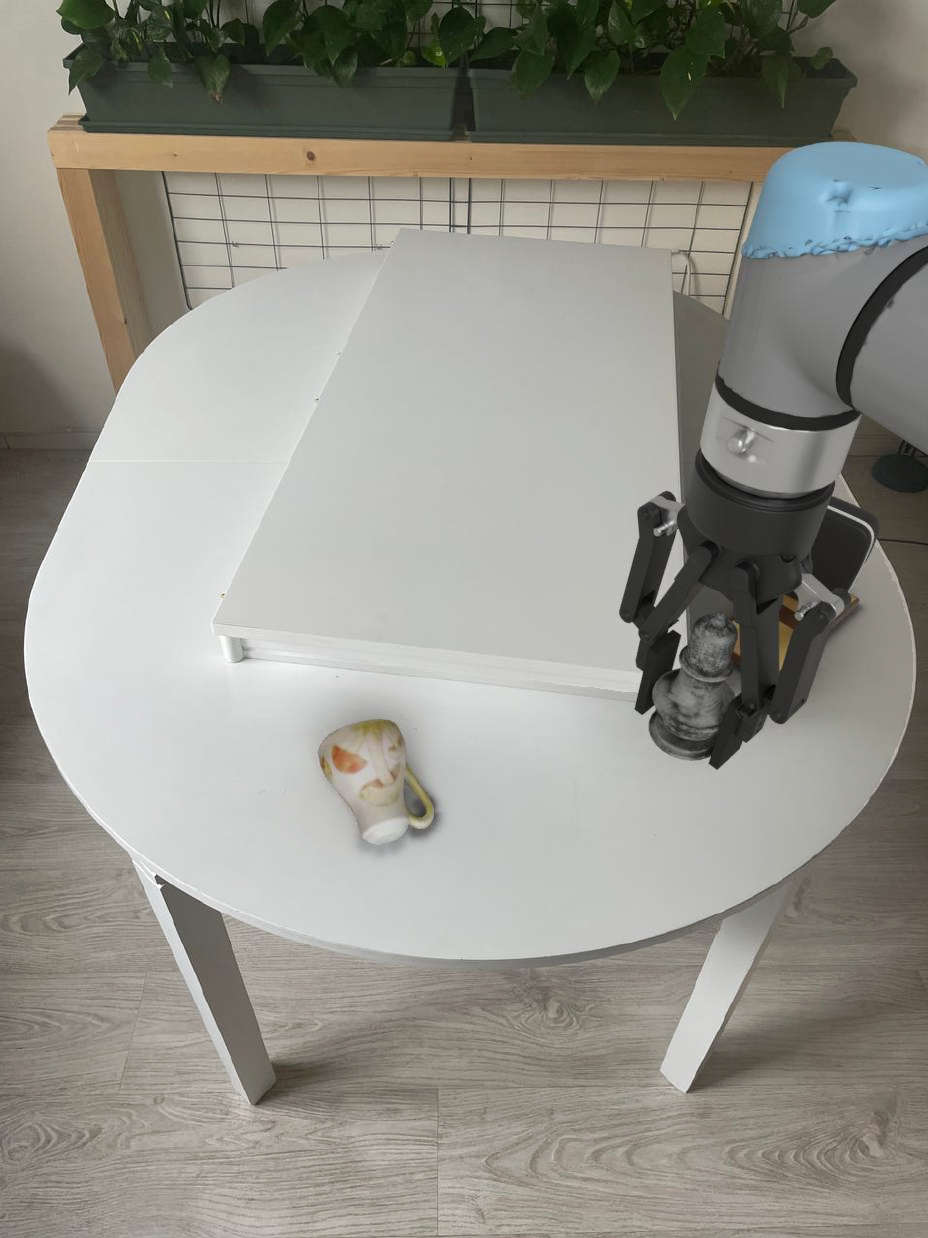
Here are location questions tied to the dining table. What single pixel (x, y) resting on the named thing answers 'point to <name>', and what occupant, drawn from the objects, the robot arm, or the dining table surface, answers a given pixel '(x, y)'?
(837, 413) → the robot arm
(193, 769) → the dining table surface
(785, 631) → the strip board
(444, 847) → the dining table surface
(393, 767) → the mug
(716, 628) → the grey chess piece
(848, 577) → the battery charger
